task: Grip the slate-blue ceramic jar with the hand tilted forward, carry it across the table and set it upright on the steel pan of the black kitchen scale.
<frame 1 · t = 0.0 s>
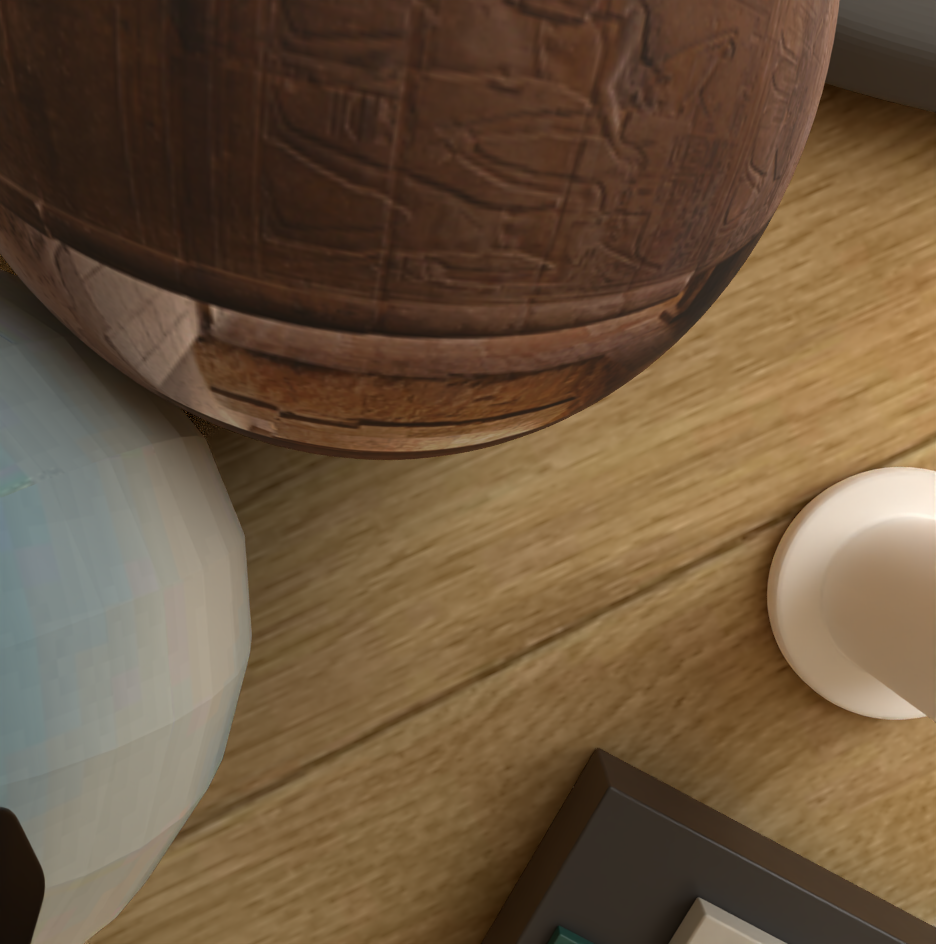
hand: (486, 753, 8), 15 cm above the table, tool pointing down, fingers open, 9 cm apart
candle: (886, 588, 23), on the table
decorative ball: (54, 549, 23), on the table, touching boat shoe, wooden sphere
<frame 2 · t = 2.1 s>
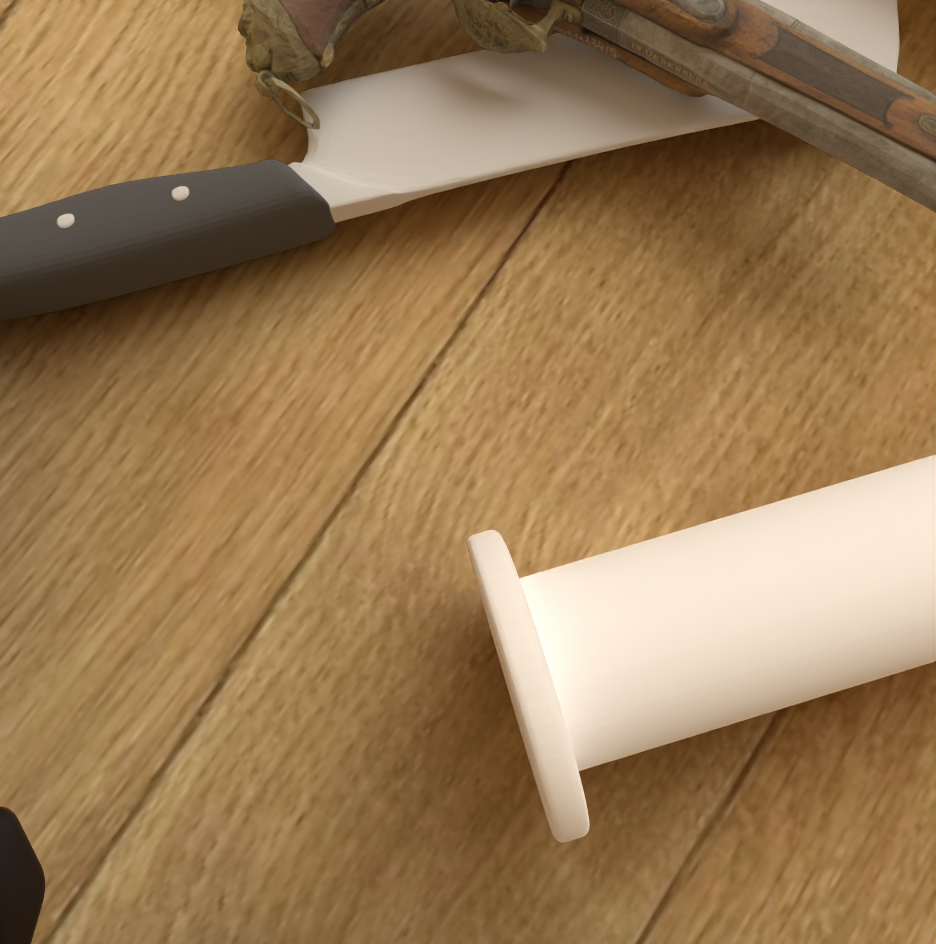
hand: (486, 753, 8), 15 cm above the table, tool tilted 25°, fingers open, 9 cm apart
flintlock pistol: (471, 237, 20), point 3 cm above the table, touching kitchen knife
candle: (499, 686, 19), point 4 cm above the table
kitchen knife: (398, 156, 24), on the table, touching flintlock pistol
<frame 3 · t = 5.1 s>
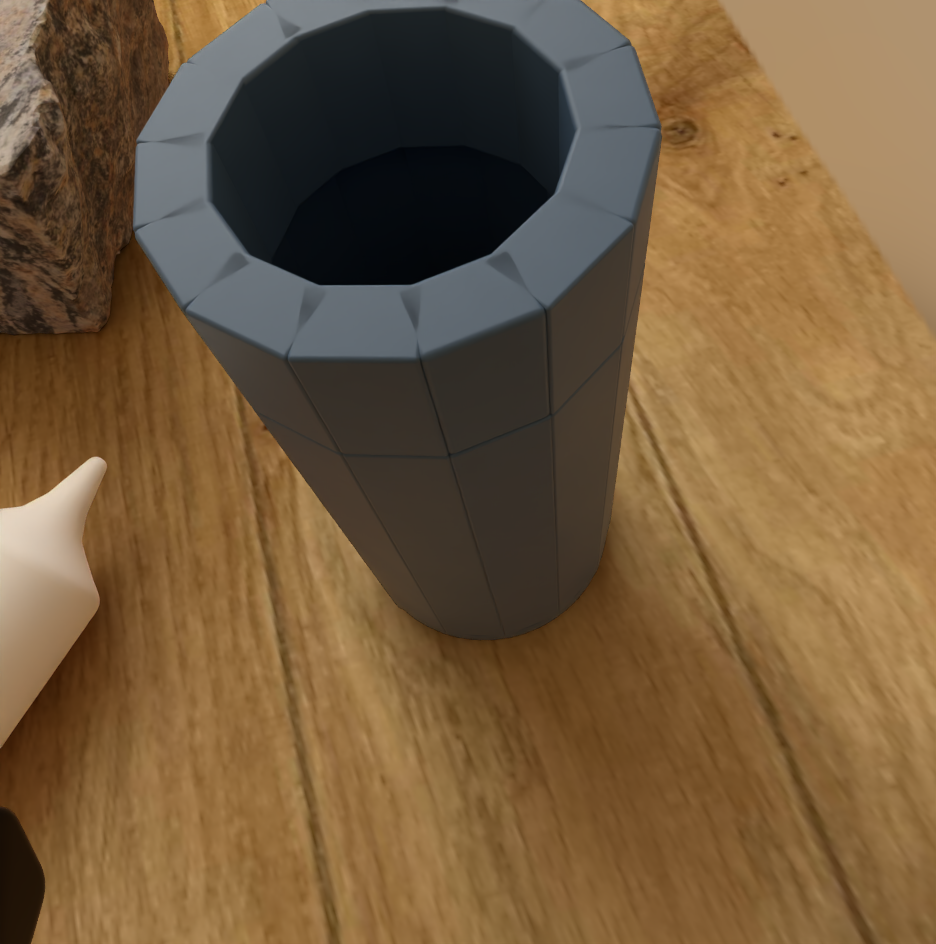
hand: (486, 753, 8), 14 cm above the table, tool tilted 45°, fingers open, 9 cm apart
jar: (486, 522, 23), on the table
stone block: (148, 244, 30), on the table
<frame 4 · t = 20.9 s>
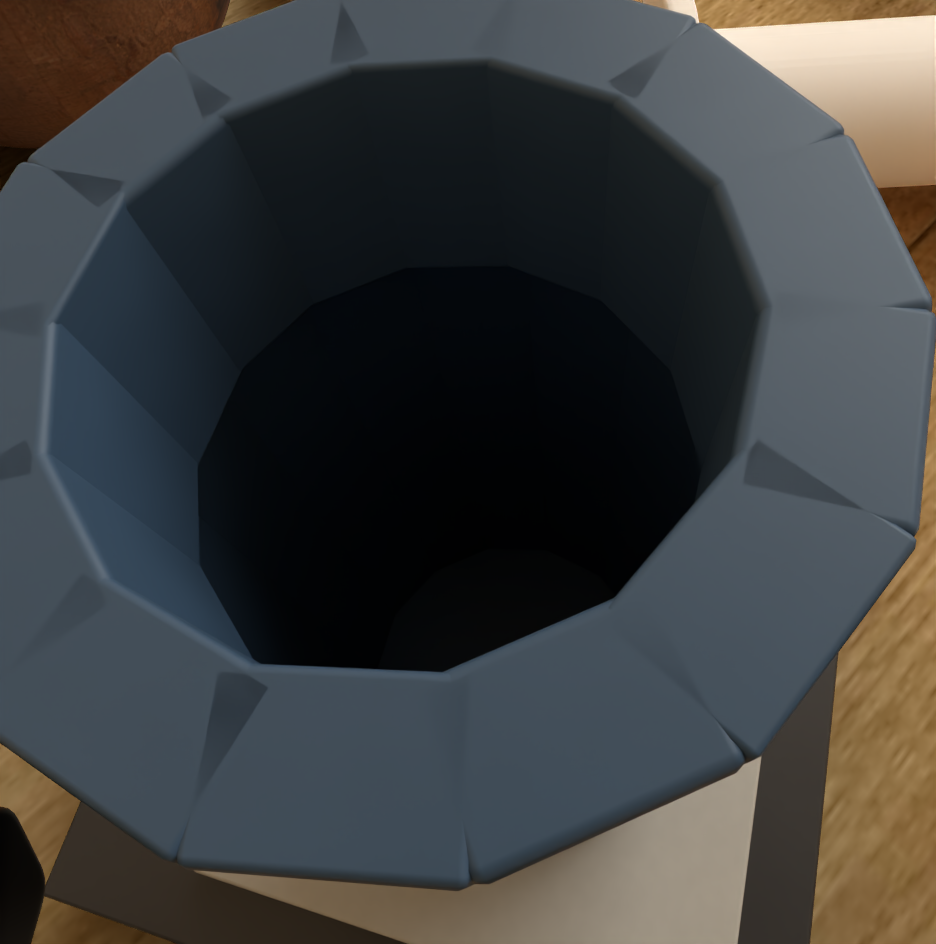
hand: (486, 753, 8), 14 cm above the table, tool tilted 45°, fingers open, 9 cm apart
scale: (478, 691, 21), on the table
jar: (513, 683, 18), point 3 cm above the table, touching scale
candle: (639, 120, 24), point 4 cm above the table
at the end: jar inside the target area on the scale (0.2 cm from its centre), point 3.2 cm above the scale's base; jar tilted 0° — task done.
